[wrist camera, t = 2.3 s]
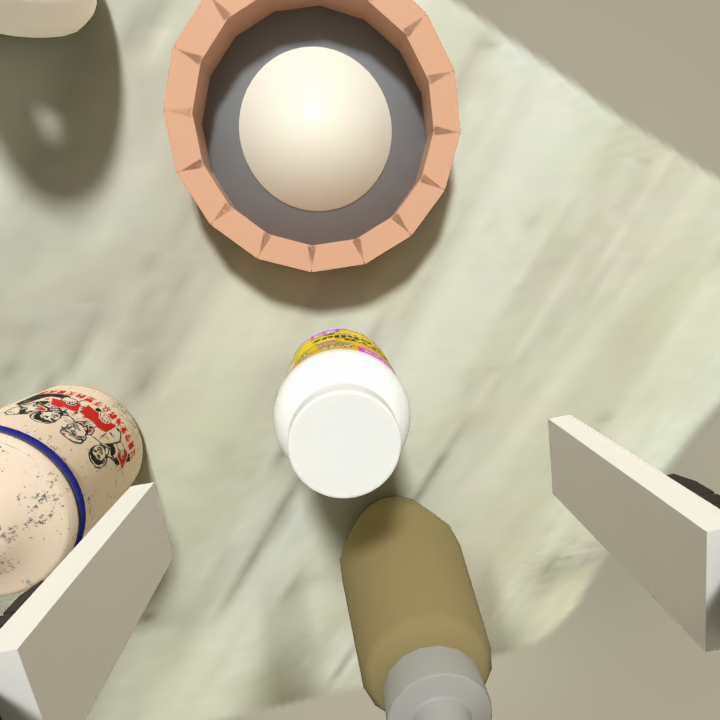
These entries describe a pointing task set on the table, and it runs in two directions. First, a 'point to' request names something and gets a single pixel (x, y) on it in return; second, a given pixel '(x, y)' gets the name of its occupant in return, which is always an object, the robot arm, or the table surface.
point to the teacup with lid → (59, 476)
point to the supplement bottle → (341, 414)
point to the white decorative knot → (44, 17)
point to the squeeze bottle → (415, 615)
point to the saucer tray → (312, 125)
